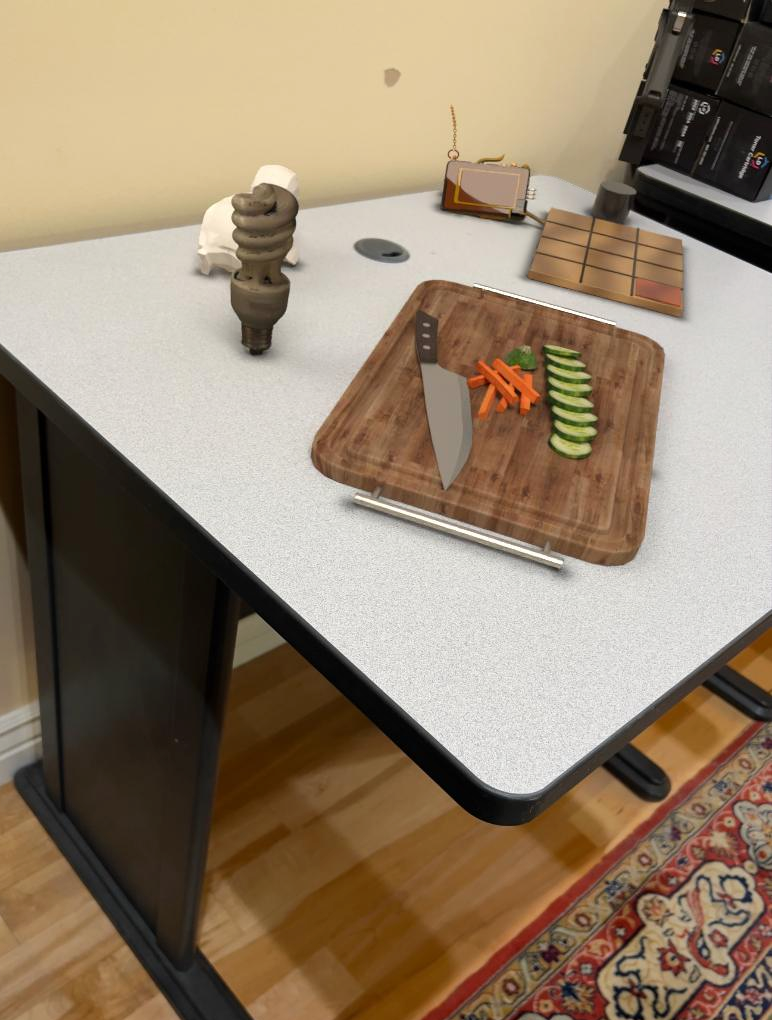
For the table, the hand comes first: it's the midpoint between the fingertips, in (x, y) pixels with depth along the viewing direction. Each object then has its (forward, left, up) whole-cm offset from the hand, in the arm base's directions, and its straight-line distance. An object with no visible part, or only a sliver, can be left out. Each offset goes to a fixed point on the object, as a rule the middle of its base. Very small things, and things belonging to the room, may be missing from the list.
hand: (630, 148), depth 118 cm
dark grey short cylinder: (0, 0, -9) cm, 9 cm away
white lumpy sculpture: (+37, +44, -9) cm, 58 cm away
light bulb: (+30, +63, -9) cm, 70 cm away
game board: (-1, +17, -9) cm, 19 cm away
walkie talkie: (+13, +11, -10) cm, 20 cm away
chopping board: (+6, +59, -9) cm, 60 cm away
